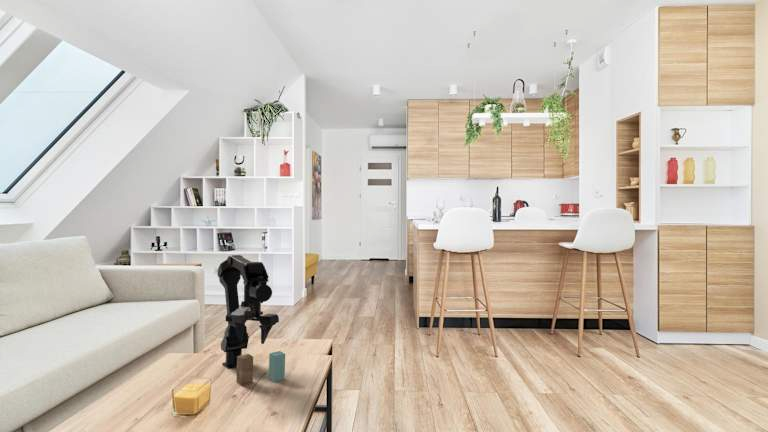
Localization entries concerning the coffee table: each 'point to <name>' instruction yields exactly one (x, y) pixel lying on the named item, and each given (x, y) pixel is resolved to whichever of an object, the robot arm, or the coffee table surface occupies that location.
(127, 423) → the coffee table surface
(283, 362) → the teal block
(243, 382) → the walnut block
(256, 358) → the coffee table surface
